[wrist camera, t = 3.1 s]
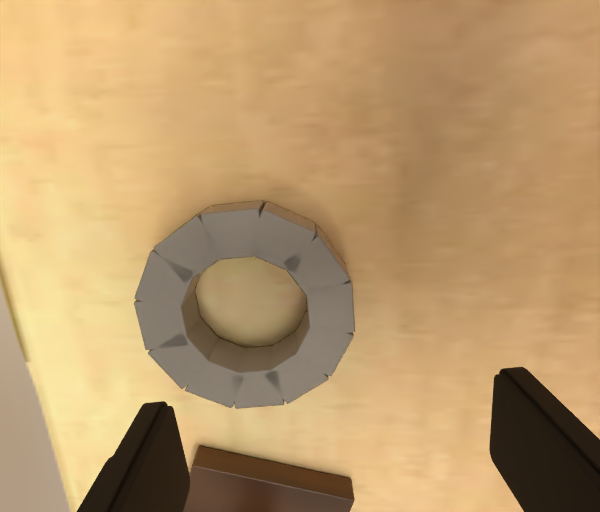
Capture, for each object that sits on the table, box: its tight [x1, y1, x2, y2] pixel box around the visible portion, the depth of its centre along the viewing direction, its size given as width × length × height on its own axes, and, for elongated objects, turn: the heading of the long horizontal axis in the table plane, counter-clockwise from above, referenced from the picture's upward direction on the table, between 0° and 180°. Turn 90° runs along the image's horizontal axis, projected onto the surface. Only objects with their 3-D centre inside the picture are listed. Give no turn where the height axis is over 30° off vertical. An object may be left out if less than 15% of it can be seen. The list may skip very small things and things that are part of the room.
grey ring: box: [134, 200, 355, 409], centre depth 19 cm, size 10×10×2 cm
